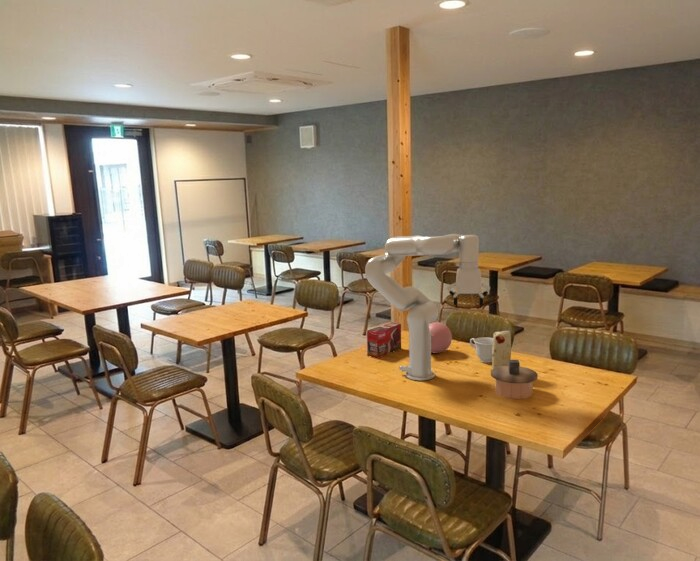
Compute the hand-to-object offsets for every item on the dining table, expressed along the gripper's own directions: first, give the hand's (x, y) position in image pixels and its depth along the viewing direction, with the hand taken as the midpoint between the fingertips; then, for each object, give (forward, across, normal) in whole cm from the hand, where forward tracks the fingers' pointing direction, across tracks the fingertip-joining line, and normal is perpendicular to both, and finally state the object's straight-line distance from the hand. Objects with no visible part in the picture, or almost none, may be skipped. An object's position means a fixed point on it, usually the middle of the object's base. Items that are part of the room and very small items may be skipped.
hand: (468, 306), depth 223 cm
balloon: (+34, -15, +42) cm, 56 cm away
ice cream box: (+34, -39, +41) cm, 66 cm away
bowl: (+33, +18, -7) cm, 38 cm away
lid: (+26, +18, -7) cm, 33 cm away
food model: (+34, +15, +13) cm, 39 cm away
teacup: (+34, +9, +33) cm, 48 cm away
